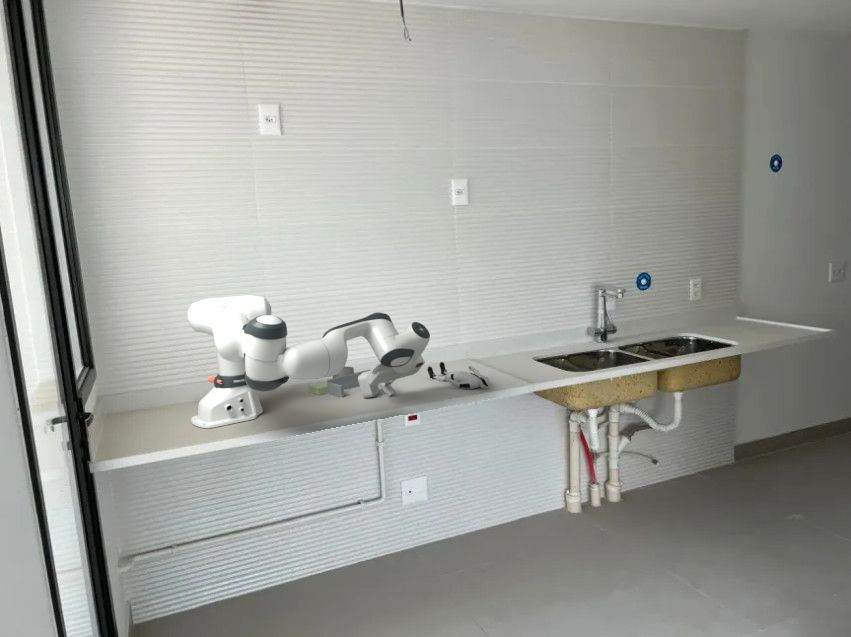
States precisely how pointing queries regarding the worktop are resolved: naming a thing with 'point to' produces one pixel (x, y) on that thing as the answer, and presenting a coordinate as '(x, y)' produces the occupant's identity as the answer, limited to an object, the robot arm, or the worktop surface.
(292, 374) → the robot arm
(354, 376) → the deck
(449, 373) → the figurine
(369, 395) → the wall hook
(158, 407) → the worktop surface
